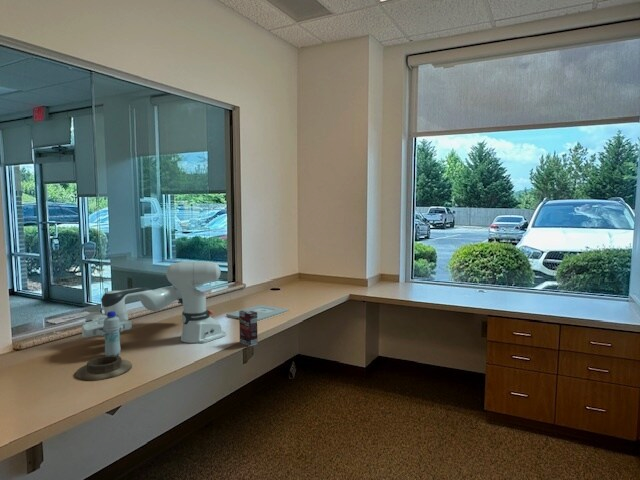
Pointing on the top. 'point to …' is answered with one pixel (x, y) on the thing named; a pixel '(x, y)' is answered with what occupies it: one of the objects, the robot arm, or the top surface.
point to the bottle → (112, 334)
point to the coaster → (103, 376)
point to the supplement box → (248, 327)
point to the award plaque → (260, 312)
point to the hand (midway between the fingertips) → (112, 331)
